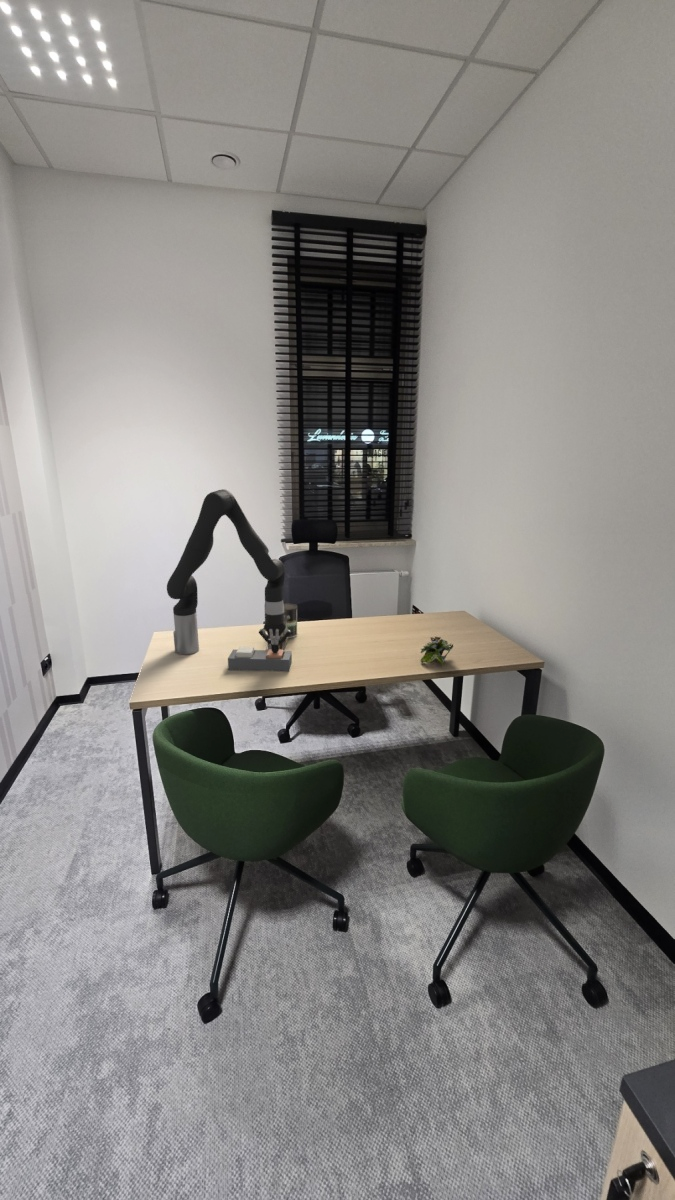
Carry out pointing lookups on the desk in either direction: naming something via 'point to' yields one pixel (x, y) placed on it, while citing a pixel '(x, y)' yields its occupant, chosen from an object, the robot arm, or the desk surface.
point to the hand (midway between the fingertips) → (275, 652)
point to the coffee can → (291, 619)
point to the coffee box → (281, 645)
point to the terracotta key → (275, 654)
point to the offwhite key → (245, 652)
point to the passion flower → (435, 650)
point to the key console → (260, 662)
